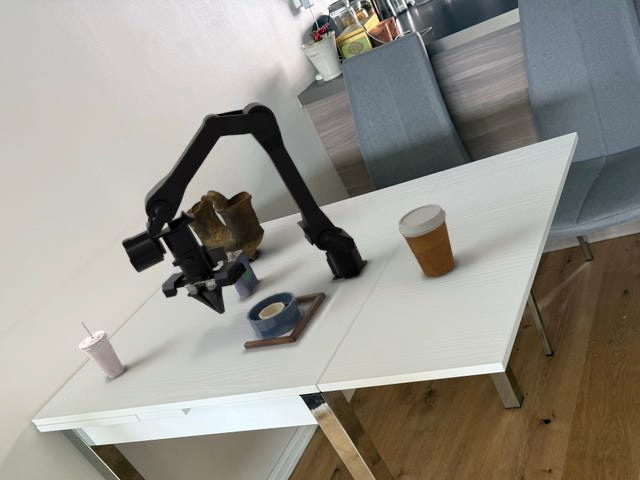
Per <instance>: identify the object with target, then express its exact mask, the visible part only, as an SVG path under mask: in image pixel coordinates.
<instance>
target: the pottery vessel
mask: <svg viewBox="0 0 640 480" xmlns="http://www.w3.org/2000/svg"><path fill="white" fill-rule="evenodd" d="M252 198H253V195H252V194H250V193H249V192H248V191H246V190H244V191H240V192H238V193H236V194H234V195H232V196H231V197H230V198H227V197H226V196H225V195H224V194H222V193H221V192H219V191H217V190H213V189H211V190H208V191H207V192H206V194H202V195H201V198H200V200H199V201H197V202H195V203H194V204H193V205H192V206H191V208H188V209H187V211H186V213H190V214H193V215H194V217H195V221H194V222H192V223H190V224H188V225H189V227H190V229H191V230H192V232H194V233H195V235H196V237H198V239H199V241H200V243H201V245H205V246H206V247H207V248H208V249H211V248H216V247H220V246H224V248H225V252H226V253H227V252H228V253H229V252H231V253H232V252H233V253H232V254H234V252H236V251H239V250H243V252H244V254H245V256H246V258H247V260H248V261H249V260H250V259H252V260H256V258H257V257H258V256H259V255H261V250H260V249H258V248H259V246H260V245H261V243H262V241H263V238H264V235H265V229H264V228H263V226H262V225H261V224H260V221H259V218H258V215H257V213H256V211H255V209H254V207H253V204H252ZM219 215H220V217H221V218H222V220H223V221H222V220H221V218H220V217H219ZM228 253H227V254H228ZM227 259H228V256H227ZM228 260H229V259H228ZM228 260H227V261H224V260H223V261H222V265H223V264H224V263H226V262H228Z"/></svg>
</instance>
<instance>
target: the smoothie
mask: <svg viewBox="0 0 640 480" xmlns="http://www.w3.org/2000/svg"><path fill="white" fill-rule="evenodd" d="M79 323H80V325H81V327H82V328H83V329H84V331H85V332H86V334H87V336H86V337H84V339H82V340H81V342H80V343H79V344H78V348H79V349H80V351H81V352H84V353H85V354H86V356H87V357H88V358H89V359H91V361H92V362H93V363H94V364H95V365H96V366H97V367H98V368H99V369H100V370H101V371H102V372H103V373H104V374H105V375H106V376H107V377H108V378H109V379H115V378H117V377H119V376H120V375H121V374H123V373H124V372H125V368H124V366H123V364H122V362H121V360H120V358H119V357H118V355H117V353H116V351H115V349H114V347H113V345H112V344H111V341H110V339H109V338H108V336H109V335H108V334H107V332H106V331H105V330H98V331H95V332H93V333H92V332H91V331H90V330H89V329H88V327H87V326H86V324H85V323H84V322H82V321H81V322H79Z"/></svg>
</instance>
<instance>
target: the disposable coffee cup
mask: <svg viewBox="0 0 640 480" xmlns="http://www.w3.org/2000/svg"><path fill="white" fill-rule="evenodd" d="M446 215H447V212H446V211H445V210H444V209H443V208H442V206H441V205H440V204H437V203H433V204H432V203H429V204H425V205H424V204H423V205H421V206H418V207H415V208H413V209H411V210H409V211H408V212H406V213H405V214H403V215H402V216H401V218H399V220H398V229H397V231H398V232H399V234H401V235H402V237H403V238H404V240H405V242H406V243H407V245H408V247H409V249H410V251H411V253H412V254H413V256H414V258H415V260H416V262H417V263H418V265H419V267H420V268H421V270H422V272H423V274H424V276H425V277H427V278H437V277H442V276H444V275H445V274H448V273H449V272H450V271H452V270H454V267H455V263H456V262H455V259H454V254H453V249H452V244H451V240H450V235H449V231H448V225H447V223H446Z"/></svg>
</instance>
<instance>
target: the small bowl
mask: <svg viewBox="0 0 640 480" xmlns="http://www.w3.org/2000/svg"><path fill="white" fill-rule="evenodd" d="M285 308H286V307H285V305H284V304H283V303H282V302H279V303H274V304H271V305H269V306H268V307H266V308H264V309H263V310H262V311H261V313H260V314H259V317H260V319H261V320H264V319H267V318H269V317H272V316H274V315H276V314H277V313H279V312H281V311H282V310H283V309H285Z"/></svg>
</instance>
